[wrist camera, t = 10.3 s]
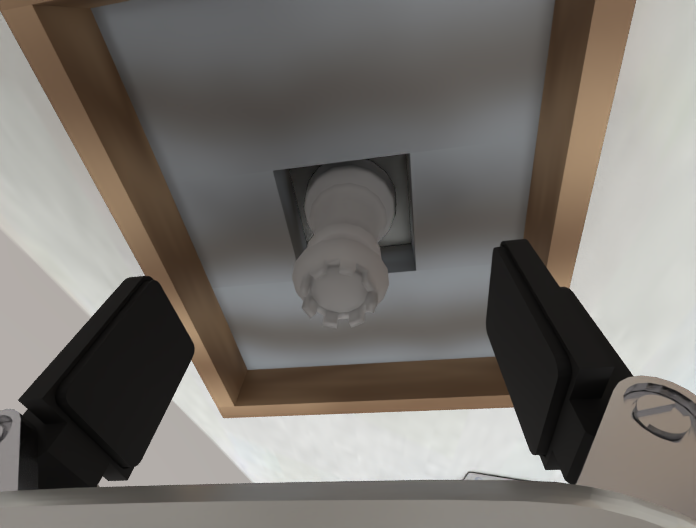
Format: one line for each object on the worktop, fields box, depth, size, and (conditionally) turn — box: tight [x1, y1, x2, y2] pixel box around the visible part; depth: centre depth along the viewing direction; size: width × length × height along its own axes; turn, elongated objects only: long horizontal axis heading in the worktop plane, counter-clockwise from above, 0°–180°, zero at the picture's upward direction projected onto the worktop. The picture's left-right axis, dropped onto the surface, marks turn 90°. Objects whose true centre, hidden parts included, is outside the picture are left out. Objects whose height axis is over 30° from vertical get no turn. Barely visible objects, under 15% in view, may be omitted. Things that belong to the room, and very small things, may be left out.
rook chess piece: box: [292, 159, 396, 329], centre depth 15 cm, size 4×4×8 cm
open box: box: [0, 0, 636, 418], centre depth 16 cm, size 20×17×5 cm
